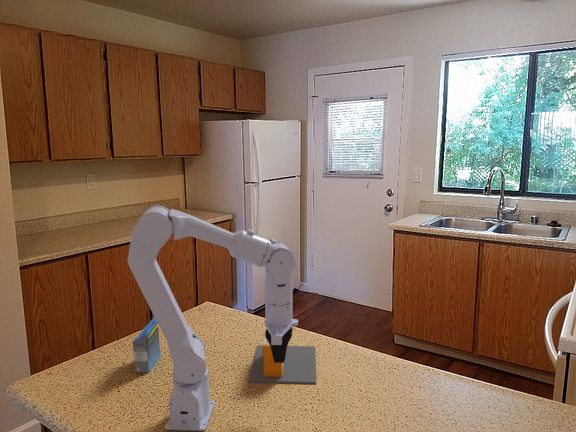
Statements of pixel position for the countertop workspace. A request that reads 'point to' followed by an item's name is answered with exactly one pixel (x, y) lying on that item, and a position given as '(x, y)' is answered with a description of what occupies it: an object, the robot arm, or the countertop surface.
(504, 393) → the countertop surface
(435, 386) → the countertop surface
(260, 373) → the mat
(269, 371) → the supplement box
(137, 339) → the label tape cartridge
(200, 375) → the robot arm
